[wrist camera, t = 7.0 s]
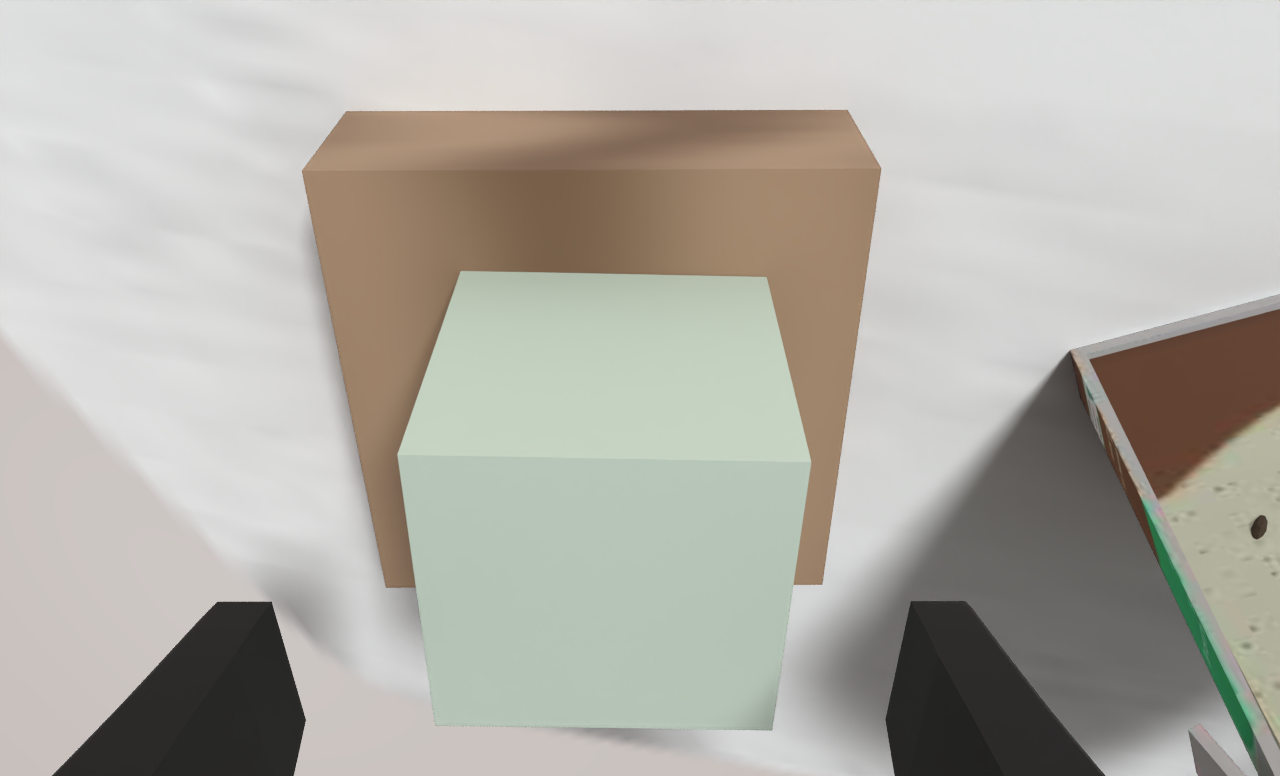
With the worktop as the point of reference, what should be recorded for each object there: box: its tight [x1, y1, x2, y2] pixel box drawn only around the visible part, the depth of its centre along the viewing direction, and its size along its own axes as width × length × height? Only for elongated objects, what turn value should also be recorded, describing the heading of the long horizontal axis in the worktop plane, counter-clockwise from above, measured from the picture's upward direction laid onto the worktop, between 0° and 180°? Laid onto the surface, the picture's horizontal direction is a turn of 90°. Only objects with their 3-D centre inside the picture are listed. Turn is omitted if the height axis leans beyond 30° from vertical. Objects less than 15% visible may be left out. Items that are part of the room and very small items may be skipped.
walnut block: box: [302, 110, 881, 588], centre depth 17 cm, size 8×8×3 cm
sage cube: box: [397, 271, 811, 730], centre depth 14 cm, size 4×4×4 cm
